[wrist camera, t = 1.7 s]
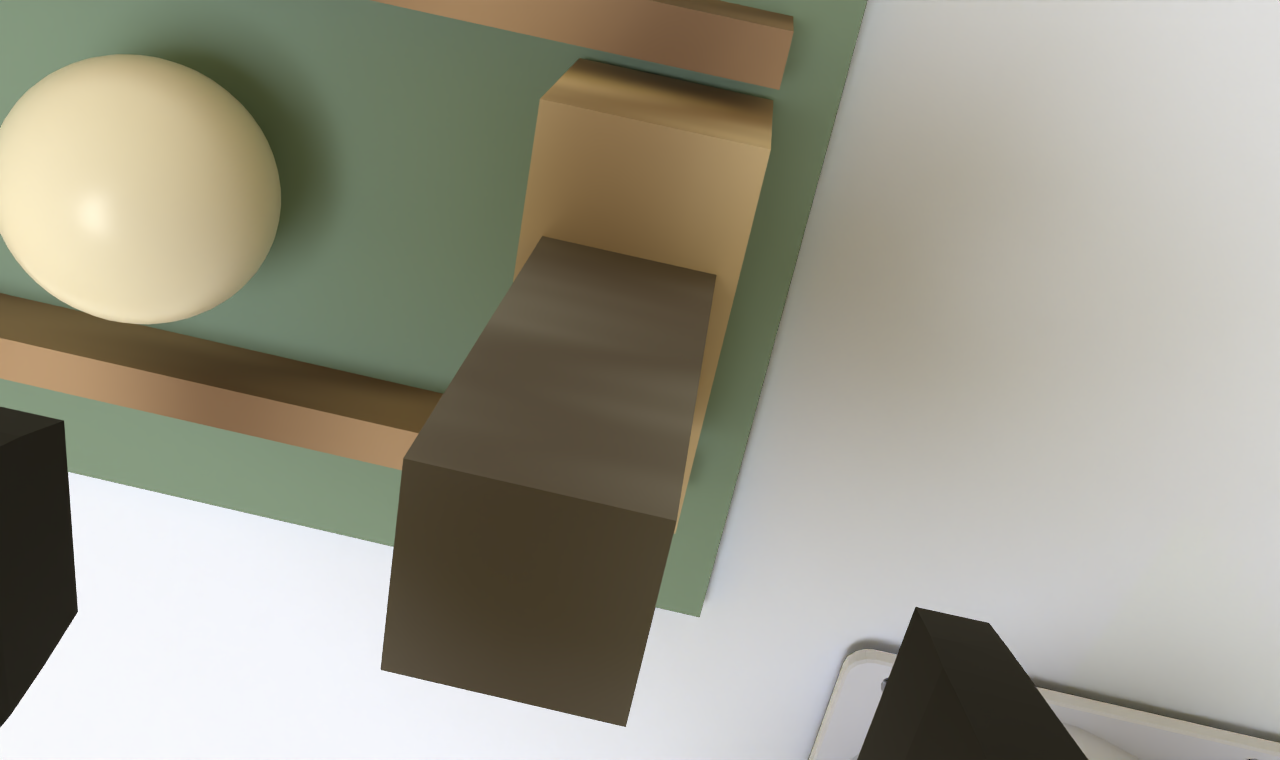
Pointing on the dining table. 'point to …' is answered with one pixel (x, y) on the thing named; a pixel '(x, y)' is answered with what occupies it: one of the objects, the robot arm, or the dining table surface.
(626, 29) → the track
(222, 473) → the pitch mat
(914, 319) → the dining table surface
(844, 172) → the dining table surface
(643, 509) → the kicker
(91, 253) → the ball
